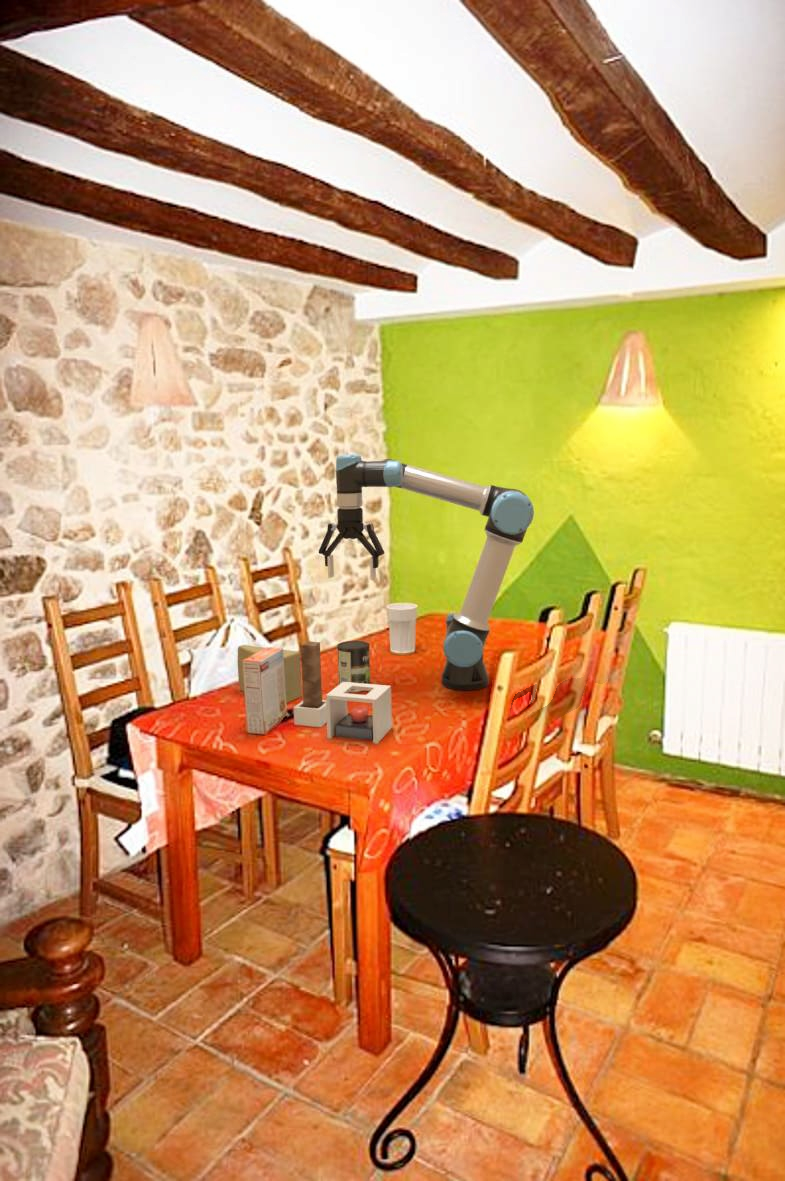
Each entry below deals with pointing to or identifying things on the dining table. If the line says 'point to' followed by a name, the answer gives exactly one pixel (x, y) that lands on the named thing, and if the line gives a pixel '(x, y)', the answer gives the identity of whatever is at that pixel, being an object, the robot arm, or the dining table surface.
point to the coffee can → (354, 662)
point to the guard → (376, 696)
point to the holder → (310, 715)
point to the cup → (402, 627)
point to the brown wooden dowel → (311, 674)
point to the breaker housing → (355, 728)
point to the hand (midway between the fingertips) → (351, 578)
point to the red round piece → (359, 714)
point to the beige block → (290, 668)
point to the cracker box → (264, 690)
